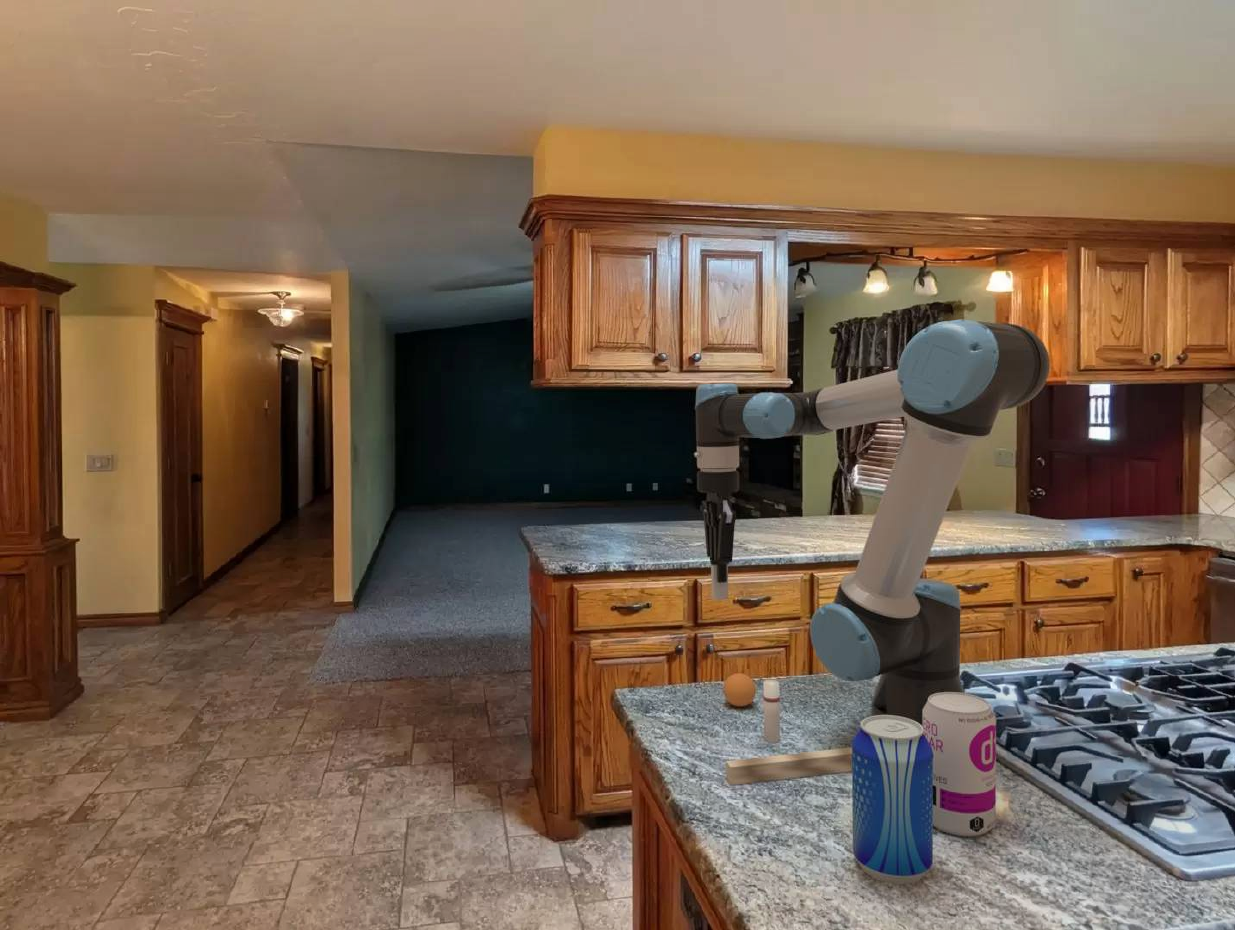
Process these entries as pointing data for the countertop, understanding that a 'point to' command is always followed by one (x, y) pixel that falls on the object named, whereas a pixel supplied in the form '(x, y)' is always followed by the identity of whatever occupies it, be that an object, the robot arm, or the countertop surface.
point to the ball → (739, 689)
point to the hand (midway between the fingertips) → (719, 598)
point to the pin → (771, 711)
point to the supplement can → (962, 762)
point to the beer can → (892, 799)
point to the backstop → (789, 766)
